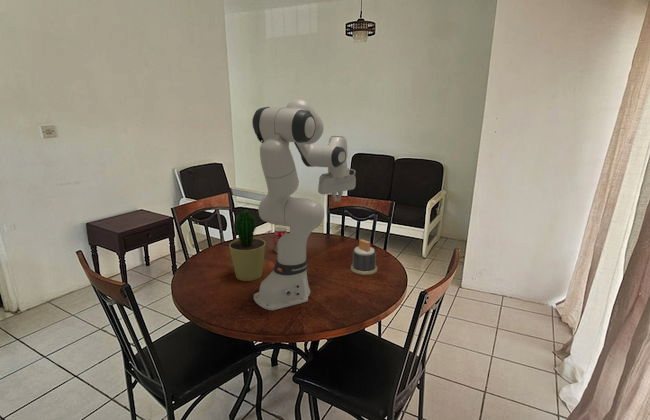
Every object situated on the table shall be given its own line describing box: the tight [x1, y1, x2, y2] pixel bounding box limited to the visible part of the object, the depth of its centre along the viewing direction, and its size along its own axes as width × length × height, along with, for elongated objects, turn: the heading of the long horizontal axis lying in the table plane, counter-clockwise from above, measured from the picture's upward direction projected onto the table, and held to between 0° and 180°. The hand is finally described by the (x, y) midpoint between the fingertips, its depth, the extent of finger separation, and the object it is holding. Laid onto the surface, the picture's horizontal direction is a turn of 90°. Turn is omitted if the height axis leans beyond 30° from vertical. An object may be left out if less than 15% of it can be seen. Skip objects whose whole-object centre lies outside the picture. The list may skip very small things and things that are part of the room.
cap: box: [353, 239, 376, 256], centre depth 165 cm, size 9×9×8 cm
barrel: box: [350, 250, 378, 276], centre depth 167 cm, size 12×12×8 cm
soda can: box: [273, 227, 288, 253], centre depth 187 cm, size 7×7×12 cm
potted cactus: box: [228, 210, 267, 282], centre depth 157 cm, size 15×15×30 cm
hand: (337, 201), depth 172 cm, fingers closed
